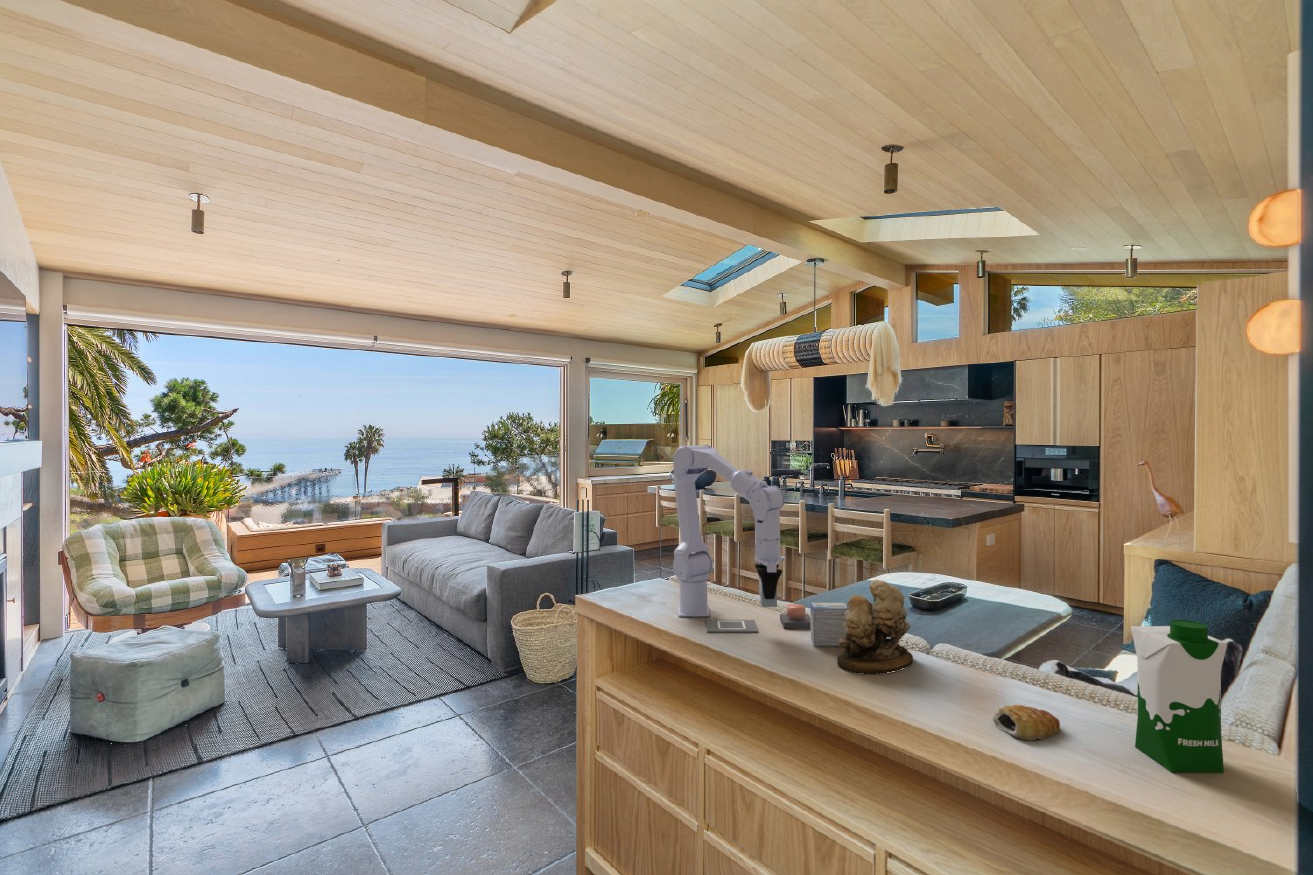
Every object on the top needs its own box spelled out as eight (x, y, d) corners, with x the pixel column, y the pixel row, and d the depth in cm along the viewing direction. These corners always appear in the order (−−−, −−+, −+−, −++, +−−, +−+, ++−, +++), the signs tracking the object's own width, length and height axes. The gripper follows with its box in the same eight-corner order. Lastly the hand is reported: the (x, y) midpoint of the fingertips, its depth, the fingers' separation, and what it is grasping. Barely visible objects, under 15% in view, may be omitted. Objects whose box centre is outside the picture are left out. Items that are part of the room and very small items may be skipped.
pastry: (1037, 718, 104) (1037, 695, 104) (1073, 737, 97) (1073, 713, 97) (989, 725, 102) (988, 701, 102) (1022, 745, 95) (1022, 720, 95)
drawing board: (706, 621, 159) (706, 619, 159) (754, 621, 158) (754, 619, 158) (707, 632, 150) (707, 630, 150) (758, 632, 149) (758, 630, 149)
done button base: (779, 619, 159) (779, 613, 159) (808, 619, 158) (808, 613, 158) (784, 628, 152) (784, 622, 152) (813, 628, 151) (813, 622, 151)
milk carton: (1170, 776, 86) (1169, 629, 85) (1123, 743, 95) (1122, 610, 94) (1237, 776, 85) (1236, 629, 85) (1183, 743, 94) (1182, 609, 94)
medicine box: (846, 640, 143) (845, 602, 143) (850, 647, 138) (849, 607, 138) (810, 640, 143) (809, 601, 143) (813, 646, 139) (812, 607, 139)
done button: (785, 612, 157) (785, 603, 157) (803, 612, 157) (803, 603, 157) (788, 617, 153) (788, 608, 153) (807, 617, 153) (806, 608, 153)
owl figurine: (883, 646, 139) (883, 568, 139) (930, 663, 129) (930, 579, 129) (823, 661, 130) (822, 578, 130) (868, 681, 120) (867, 591, 120)
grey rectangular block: (760, 602, 150) (759, 568, 150) (774, 602, 149) (774, 568, 149) (761, 606, 146) (761, 572, 146) (777, 606, 146) (776, 572, 146)
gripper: (789, 543, 140) (790, 604, 140) (780, 533, 155) (780, 588, 155) (757, 544, 141) (758, 605, 141) (751, 533, 155) (751, 588, 155)
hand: (768, 596), depth 148 cm, fingers closed on grey rectangular block, 3 cm apart
